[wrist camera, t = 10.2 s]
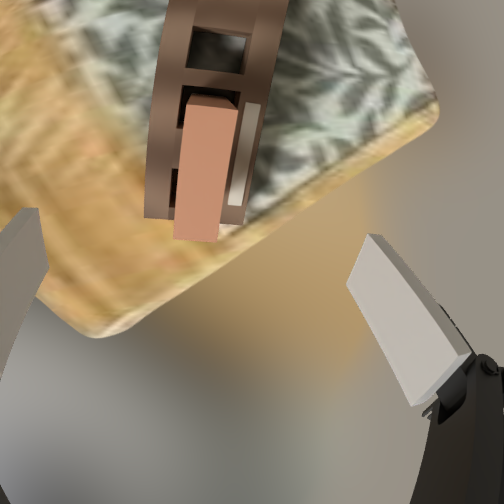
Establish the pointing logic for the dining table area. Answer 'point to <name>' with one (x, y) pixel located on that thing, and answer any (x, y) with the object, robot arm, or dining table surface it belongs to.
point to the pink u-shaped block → (203, 166)
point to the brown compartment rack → (245, 84)
